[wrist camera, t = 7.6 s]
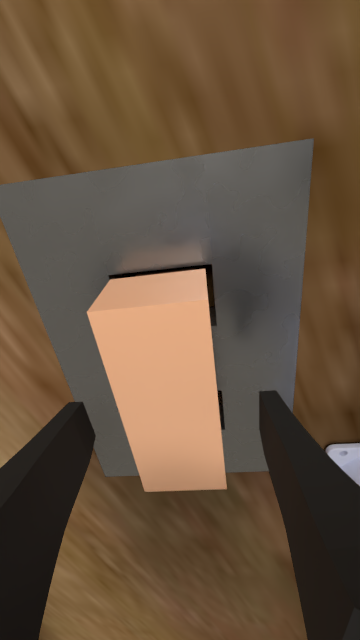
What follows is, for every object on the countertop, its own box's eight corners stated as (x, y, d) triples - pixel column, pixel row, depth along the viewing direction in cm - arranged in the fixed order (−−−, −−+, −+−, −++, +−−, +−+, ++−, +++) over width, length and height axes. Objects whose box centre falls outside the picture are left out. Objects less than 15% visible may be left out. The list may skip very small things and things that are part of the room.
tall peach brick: (203, 251, 14) (208, 299, 9) (218, 404, 19) (226, 489, 14) (123, 261, 14) (86, 312, 10) (157, 408, 19) (145, 491, 14)
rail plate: (295, 141, 12) (313, 138, 10) (280, 443, 20) (288, 470, 18) (16, 183, 13) (-12, 186, 11) (112, 450, 21) (105, 476, 20)
